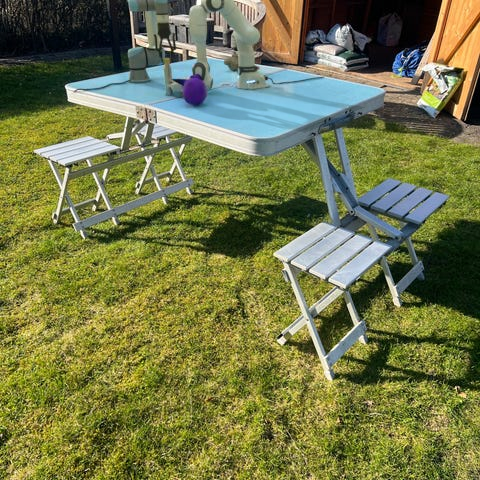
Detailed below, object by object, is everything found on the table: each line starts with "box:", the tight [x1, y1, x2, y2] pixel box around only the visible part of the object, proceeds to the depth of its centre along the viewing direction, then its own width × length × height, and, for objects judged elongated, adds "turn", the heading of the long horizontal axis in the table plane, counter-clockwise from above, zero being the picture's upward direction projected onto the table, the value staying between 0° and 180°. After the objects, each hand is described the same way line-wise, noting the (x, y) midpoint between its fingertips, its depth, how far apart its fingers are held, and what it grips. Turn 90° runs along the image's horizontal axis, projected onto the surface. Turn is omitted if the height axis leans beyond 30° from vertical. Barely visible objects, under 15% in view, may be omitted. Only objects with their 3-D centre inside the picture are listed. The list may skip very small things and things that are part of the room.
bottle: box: [163, 63, 175, 96], centre depth 293 cm, size 5×5×22 cm
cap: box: [163, 57, 171, 64], centre depth 288 cm, size 4×4×2 cm
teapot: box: [223, 50, 239, 72], centre depth 366 cm, size 21×12×15 cm, turn 120°
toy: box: [172, 74, 208, 106], centre depth 273 cm, size 16×18×27 cm
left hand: (166, 62), depth 289 cm, fingers open, 6 cm apart
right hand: (167, 84), depth 295 cm, fingers closed on bottle, 5 cm apart
